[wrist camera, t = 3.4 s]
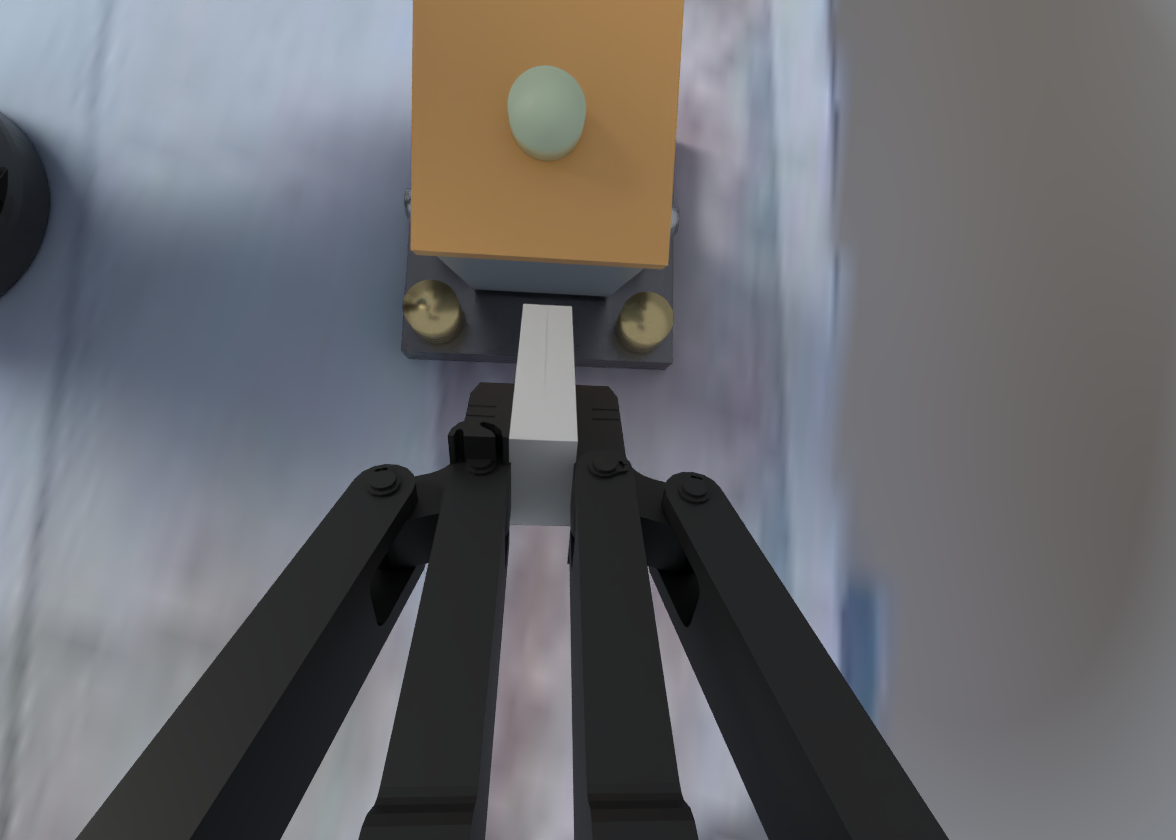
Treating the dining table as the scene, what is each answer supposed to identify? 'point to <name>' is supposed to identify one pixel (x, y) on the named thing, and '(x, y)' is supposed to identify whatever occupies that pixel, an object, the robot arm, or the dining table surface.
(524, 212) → the box
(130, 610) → the dining table surface
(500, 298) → the leveling base
